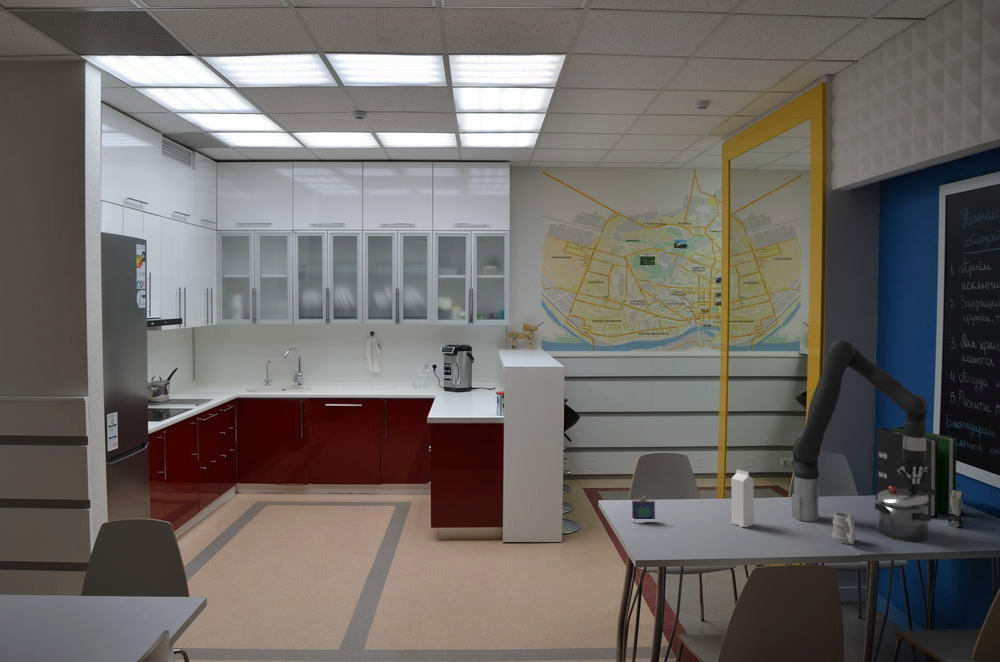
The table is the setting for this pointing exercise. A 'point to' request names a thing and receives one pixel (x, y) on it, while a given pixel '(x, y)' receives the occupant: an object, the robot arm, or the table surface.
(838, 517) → the mug
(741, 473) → the milk
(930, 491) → the lid
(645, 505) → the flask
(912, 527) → the pot
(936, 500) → the binder
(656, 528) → the table surface
